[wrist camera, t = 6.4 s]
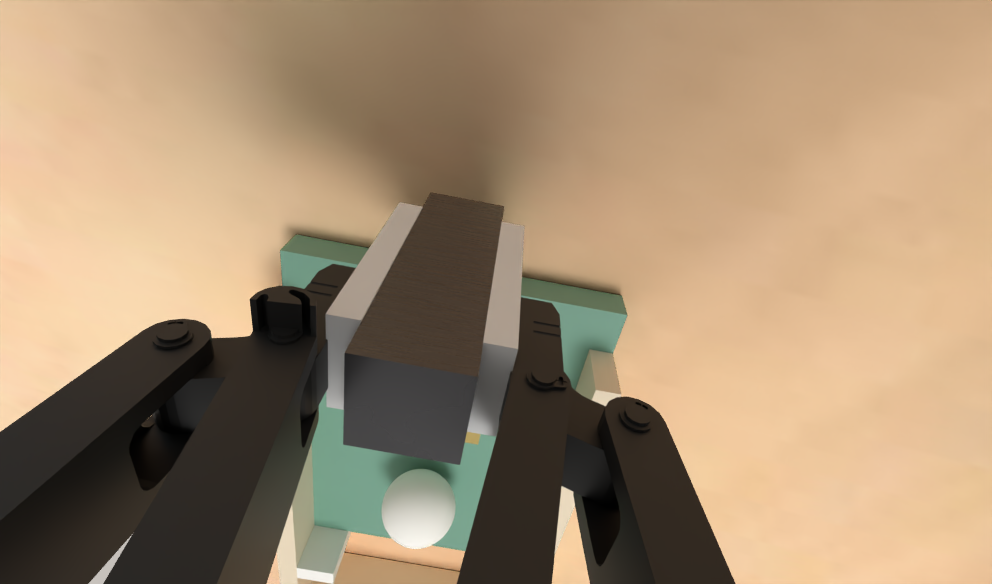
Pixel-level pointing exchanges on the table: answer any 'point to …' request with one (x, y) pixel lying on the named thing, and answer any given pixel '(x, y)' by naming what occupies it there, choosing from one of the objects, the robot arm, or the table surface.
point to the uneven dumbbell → (425, 336)
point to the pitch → (368, 473)
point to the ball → (418, 508)
